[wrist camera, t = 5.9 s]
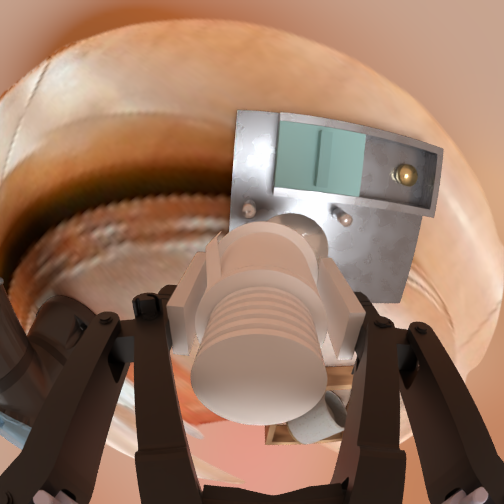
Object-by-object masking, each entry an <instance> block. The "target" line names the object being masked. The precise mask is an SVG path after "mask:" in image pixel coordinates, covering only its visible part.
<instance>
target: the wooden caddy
mask: <svg viewBox="0 0 504 504" xmlns="http://www.w3.org/2000/svg"><path fill="white" fill-rule="evenodd" d="M353 367H354V366H341V367H325V368H326V372H327V386H326V390H343V389H351V388H352V381H353V375H352V374H351V373H352V370H353ZM326 390H325V391H326ZM349 401H350V400H349ZM348 406H349V402H348V404H347V406H346V408H345V409H346V411H347V412H348ZM343 432H344V431H341V432H339V433H337V434H334V435H332V436H330V437H327V438H324V439H322V440H320V441H317V442H315V443H327V442H336V441H342V437H343ZM265 444H266V445H293V444H300V443H298V442H297V441H295V440H294V439H293V437H292V436H291V435H290V433H289V431H288V428H287V425H277V424H273V425H265ZM311 444H313V443H311Z"/></svg>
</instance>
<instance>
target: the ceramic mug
mask: <svg viewBox="0 0 504 504" xmlns="http://www.w3.org/2000/svg"><path fill="white" fill-rule="evenodd" d="M346 417H347V411H346V409H345V407H344V405H343V403H342V402H341V400H340V399H339V397H338V396H337V395H336V394H335V393H333V392H332V391H330V390H326V391H325V392H324V394H323V396H322V398H321V399H320V401H319V402H318V403H317V404H316V405H315V406H314V407H313V408H312V409H311V410H309V411H308V412H307V413H305V414H303V415H302V416H300V417H298V418H295V419H293V420H290V421H287V422H286V423H287V428H288V431H289V433H290V435H291V436H292V437H293V439H294V440H295V441H297V442H298V443H300V444H311V443H315V442H317V441H320V440H322V439H324V438H327V437H330V436H332V435H334V434H337V433H339V432H341V431H344V428H345V423H346Z"/></svg>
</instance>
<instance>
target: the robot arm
mask: <svg viewBox="0 0 504 504" xmlns="http://www.w3.org/2000/svg"><path fill="white" fill-rule="evenodd" d="M3 283H4V282H3V279H2V278H1V277H0V435H1V436H3V437H4V438H5V439H7V440H8V441H9V442H11V443H12V444H14V445H15V446H17V447H18V448H20V449H21V450H22V452H21V453H20V455H19V456H18V457H17V458H16V459H15V460H14V461H13V462H12V463H11V464H10V466H9V467H8V468H7V469H6V470H5V471H4V472H3V473H2V475H1V476H0V504H89V502H90V499H91V497H92V493H93V490H94V486H95V482H96V477H97V473H98V469H99V465H100V460H101V456H102V453H103V449H104V445H105V442H106V438H107V435H108V431H109V428H110V424H111V421H112V417H113V414H114V411H115V408H116V404H117V401H118V398H119V395H120V392H121V389H122V386H123V383H124V380H125V377H126V374H127V371H128V369H129V366H130V362H134V394H135V414H136V428H137V439H138V451H137V452H135V465H136V472H137V479H138V486H139V493H140V498H141V504H402V500H403V492H404V483H405V470H406V453H405V451H404V450H400V449H399V436H400V393H401V396H402V399H403V402H404V405H405V408H406V412H407V415H408V418H409V422H410V425H411V428H412V432H413V436H414V439H415V443H416V447H417V451H418V455H419V458H420V463H421V467H422V471H423V476H424V481H425V485H426V490H427V494H428V498H429V501H430V503H431V504H504V462H503V461H502V460H501V458H500V457H499V456H498V455H497V452H496V449H495V447H494V444H493V442H492V439H491V437H490V435H489V432H488V430H487V428H486V426H485V423H484V422H483V419H482V417H481V415H480V413H479V411H478V408H477V406H476V405H475V403H474V401H473V399H472V397H471V395H470V393H469V391H468V389H467V387H466V385H465V383H464V381H463V380H462V378H461V376H460V374H459V372H458V371H457V369H456V367H455V365H454V364H453V362H452V360H451V358H450V357H449V355H448V353H447V352H446V350H445V348H444V347H443V345H442V344H441V342H440V340H439V339H438V337H437V336H436V334H435V332H434V331H433V329H432V328H431V327H430V326H429V325H427V324H426V323H423V322H412V323H411V324H410V326H409V328H408V330H406V329H399V328H395V326H394V323H393V322H392V321H391V320H390V319H388V318H386V317H382V316H380V315H379V314H378V312H377V311H376V309H375V308H374V306H373V305H372V303H371V302H370V300H369V299H368V297H367V296H366V295H365V294H363V293H362V292H353V291H352V289H351V287H350V286H349V284H348V283H347V281H346V279H345V278H344V276H343V275H342V273H341V272H340V270H339V269H338V267H337V265H336V264H335V262H334V261H333V259H332V258H329V257H320V261H319V269H318V280H317V285H316V287H317V289H318V292H319V295H320V297H321V300H322V303H323V305H324V308H325V311H326V315H327V321H328V327H327V331H328V334H329V337H330V340H331V343H332V346H333V349H334V352H335V355H336V358H337V360H348V359H352V357H353V354H354V351H356V354H357V359H356V362H355V364H354V367H353V370H352V373H351V374H352V375H353V381H352V388H351V395H350V401H349V406H348V412H347V417H346V423H345V428H344V432H343V437H342V442H341V446H340V450H339V455H338V459H337V463H336V466H335V470H334V474H333V477H332V480H331V482H330V484H328V485H319V486H310V487H306V488H303V489H299V490H296V491H292V492H288V493H284V494H280V495H266V494H262V493H258V492H253V491H249V490H245V489H241V488H233V487H221V486H211V485H204V489H203V491H202V490H201V487H200V484H199V481H198V478H197V475H196V471H195V468H194V464H193V461H192V457H191V453H190V449H189V445H188V441H187V437H186V433H185V429H184V425H183V420H182V416H181V411H180V406H179V401H178V396H177V391H176V386H175V380H174V375H173V369H172V363H171V357H170V349H171V347H172V348H173V354H179V355H188V356H189V354H190V350H191V347H192V344H193V341H194V338H195V335H196V330H195V316H196V312H197V308H198V306H199V304H200V301H201V299H202V297H203V295H204V293H205V291H206V289H207V271H206V252H197V253H196V255H195V256H194V258H193V260H192V261H191V263H190V265H189V266H188V268H187V270H186V272H185V273H184V275H183V277H182V279H181V280H180V282H179V284H178V285H166V286H165V287H163V288H162V289H161V290H160V291H159V293H158V294H155V293H143V294H140V295H137V296H136V297H134V298H133V300H132V303H133V308H134V314H135V319H133V320H123V321H120V319H119V316H118V314H116V313H114V312H102V313H100V314H98V315H96V316H95V315H94V314H93V313H92V312H91V311H90V310H89V309H88V308H87V307H85V306H84V305H82V304H81V303H79V302H78V301H76V300H74V299H71V298H69V297H65V296H54V297H51V298H50V299H48V300H47V301H46V302H45V303H44V304H43V305H42V306H41V307H40V308H39V310H38V312H37V314H36V318H35V320H34V322H33V324H32V326H31V328H30V330H29V333H28V335H27V336H26V334H25V332H24V330H23V328H22V326H21V324H20V322H19V320H18V318H17V316H16V314H15V312H14V310H13V308H12V305H11V303H10V301H9V298H8V296H7V294H6V291H5V289H4V286H3Z"/></svg>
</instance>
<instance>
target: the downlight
mask: <svg viewBox="0 0 504 504" xmlns="http://www.w3.org/2000/svg"><path fill="white" fill-rule="evenodd" d="M221 232H222V231H221ZM221 232H220V233H221ZM220 233H218V234H217V235H216V236H215V237H214V238H213V239H212V240H211V241H210V243H209V244H208V245H207V246H206V271H207V289H206V291H205V293H204V295H203V297H202V299H201V301H200V304H199V306H198V308H197V312H196V316H195V330H196V335H197V338H198V341H199V343H200V347H199V349H198V352H197V355H196V358H195V361H194V364H193V367H192V370H191V384H192V388H193V390H194V393H195V394H196V396H197V397H198V399H199V400H200V401H201V403H202V404H203V405H204V406H206V407H207V408H208V409H209V410H211V411H212V412H214V413H215V414H217V415H219V416H221V417H223V418H225V419H228V420H230V421H233V422H237V423H242V424H247V425H273V424H279V423H284V422H287V421H290V420H293V419H295V418H298V417H300V416H302V415H303V414H305V413H307V412H308V411H309V410H311V409H312V408H313V407H314V406H315V405H316V404H317V403H318V402H319V401H320V399H321V398H322V396H323V394H324V392H325V390H326V386H327V372H326V368H325V364H324V360H323V356H322V352H321V347H322V345H323V343H324V341H325V338H326V334H327V327H328V321H327V315H326V311H325V308H324V305H323V303H322V300H321V297H320V295H319V292H318V289H317V287H316V285H317V280H318V265H317V261H316V257H315V255H314V252H313V250H312V249H311V247H310V245H309V244H308V243H307V241H306V240H305V239H304V238H303V237H302V236H301V235H300V234H299V233H297V232H296V231H294V230H293V229H291V228H289V227H287V226H285V225H282V224H279V223H274V222H266V221H259V222H252V223H247V224H244V225H242V226H239V227H237V228H235V229H233V230H232V231H230V232H229V233H228V234H227V235H225V236H224V237H223V238H222V239H221V240H220V242H219V243H218V241H217V236H218V235H219V234H220Z"/></svg>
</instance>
